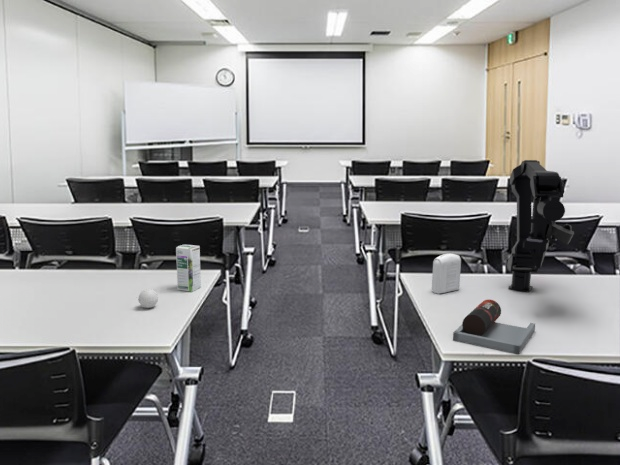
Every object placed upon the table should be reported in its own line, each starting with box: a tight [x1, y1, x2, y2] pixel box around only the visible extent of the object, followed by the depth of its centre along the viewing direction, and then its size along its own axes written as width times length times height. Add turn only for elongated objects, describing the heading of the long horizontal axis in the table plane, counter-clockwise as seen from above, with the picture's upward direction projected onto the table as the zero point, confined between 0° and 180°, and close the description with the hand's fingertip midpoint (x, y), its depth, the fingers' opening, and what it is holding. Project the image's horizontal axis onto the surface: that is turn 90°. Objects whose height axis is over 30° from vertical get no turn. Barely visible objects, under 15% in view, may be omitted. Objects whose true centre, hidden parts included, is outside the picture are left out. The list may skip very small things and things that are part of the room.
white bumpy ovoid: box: [137, 288, 159, 309], centre depth 163 cm, size 8×6×6 cm
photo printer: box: [431, 253, 462, 294], centre depth 179 cm, size 10×4×12 cm, turn 123°
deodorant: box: [461, 298, 502, 336], centre depth 146 cm, size 6×6×15 cm
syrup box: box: [175, 244, 202, 292], centre depth 181 cm, size 6×6×14 cm
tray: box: [452, 321, 536, 355], centre depth 142 cm, size 18×16×2 cm
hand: (538, 267), depth 163 cm, fingers closed
